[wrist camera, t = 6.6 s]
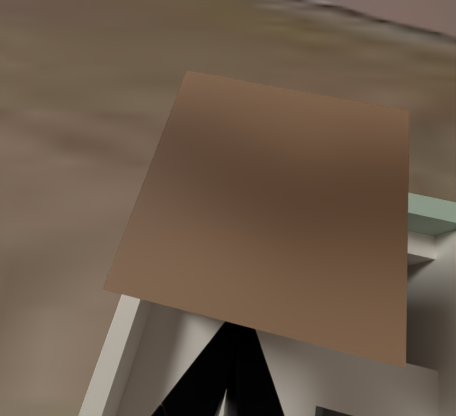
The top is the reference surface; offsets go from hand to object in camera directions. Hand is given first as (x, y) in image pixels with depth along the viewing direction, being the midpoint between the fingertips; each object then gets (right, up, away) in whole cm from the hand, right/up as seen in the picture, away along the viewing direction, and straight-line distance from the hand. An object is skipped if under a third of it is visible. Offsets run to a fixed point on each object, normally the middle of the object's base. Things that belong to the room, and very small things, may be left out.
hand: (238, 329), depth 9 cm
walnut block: (+1, +2, +5) cm, 5 cm away
